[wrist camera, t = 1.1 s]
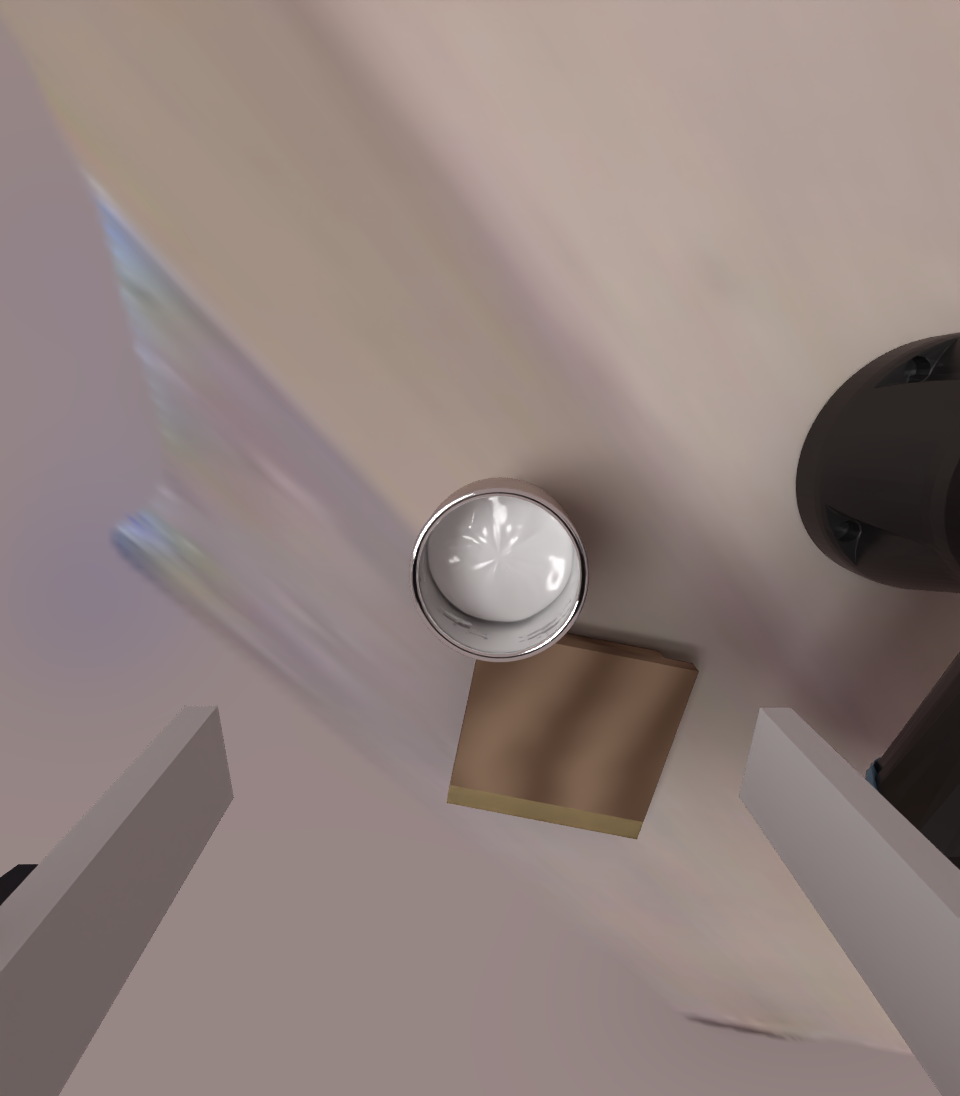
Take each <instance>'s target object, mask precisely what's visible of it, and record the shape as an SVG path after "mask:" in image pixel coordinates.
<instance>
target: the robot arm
mask: <svg viewBox="0 0 960 1096" xmlns="http://www.w3.org/2000/svg"><path fill="white" fill-rule="evenodd" d="M796 492H797V502H798V507H799V512H800V515H801V518H802V521H803V523H804V526H805V528H806V530H807V532H808V534H809V535H810V537H811V538H812V540H813V541H814V543H815V544H816V545H817V546H818V547H819V549H820V550H821V551H822V552H823V553H824V554H826V555H827V556H828V557H829V558H830V559H832V560H833V561H834V562H836V563H838V564H839V565H841V566H843V567H845V568H847V569H849V570H851V571H853V572H855V573H857V574H860V575H862V576H864V577H866V578H868V579H871V580H873V581H876V582H879V583H882V584H885V585H889V586H894V587H898V588H904V589H913V590H926V591H940V592H954V593H960V333H954V334H948V335H942V336H936V337H930V338H926V339H922V340H918V341H915V342H911V343H908V344H906V345H903V346H900V347H898V348H896V349H894V350H892V351H889V352H888V353H886V354H884V355H882V356H880V357H878V358H877V359H875V360H873V361H872V362H870V363H869V364H867V365H866V366H865V367H863V368H862V369H860V370H859V371H858V372H857V373H855V374H854V375H853V376H852V377H851V378H850V379H849V380H847V381H846V382H845V383H844V384H843V385H842V386H841V387H840V388H839V389H838V390H837V391H836V393H835V394H834V395H833V396H832V397H831V398H830V400H829V401H828V402H827V404H826V405H825V406H824V408H823V409H822V410H821V412H820V413H819V415H818V417H817V418H816V420H815V422H814V423H813V425H812V427H811V429H810V431H809V433H808V436H807V438H806V440H805V443H804V446H803V449H802V452H801V456H800V459H799V464H798V470H797V480H796ZM739 797H740V799H741V800H742V802H743V803H744V805H745V806H746V808H747V809H748V811H749V812H750V813H751V815H752V816H753V818H754V819H755V821H756V822H757V824H758V825H759V827H760V828H761V830H762V831H763V833H764V834H765V836H766V837H767V838H768V840H769V841H770V843H771V844H772V846H773V847H774V849H775V850H776V852H777V853H778V855H779V856H780V858H781V859H782V861H783V862H784V864H785V865H786V866H787V868H788V869H789V871H790V872H791V874H792V875H793V877H794V878H795V880H796V881H797V883H798V884H799V886H800V887H801V889H802V890H803V892H804V893H805V894H806V896H807V897H808V899H809V900H810V902H811V903H812V905H813V906H814V908H815V909H816V911H817V912H818V914H819V915H820V917H821V918H822V920H823V921H824V922H825V924H826V925H827V927H828V928H829V930H830V931H831V933H832V934H833V936H834V937H835V939H836V940H837V942H838V943H839V945H840V946H841V947H842V949H843V950H844V952H845V953H846V955H847V956H848V958H849V959H850V961H851V962H852V964H853V965H854V967H855V968H856V970H857V971H858V973H859V974H860V975H861V977H862V978H863V980H864V981H865V983H866V984H867V986H868V987H869V989H870V990H871V992H872V993H873V995H874V996H875V998H876V999H877V1001H878V1002H879V1003H880V1005H881V1006H882V1008H883V1009H884V1011H885V1012H886V1014H887V1015H888V1017H889V1018H890V1020H891V1021H892V1023H893V1024H894V1026H895V1027H896V1029H897V1030H898V1031H899V1033H900V1034H901V1036H902V1037H903V1039H904V1040H905V1042H906V1043H907V1045H908V1046H909V1048H910V1049H911V1051H912V1052H913V1054H914V1055H915V1056H916V1058H917V1059H918V1061H919V1062H920V1064H921V1065H922V1067H923V1068H924V1070H925V1071H926V1072H927V1074H928V1076H929V1077H930V1078H931V1080H932V1082H933V1083H934V1084H935V1086H936V1087H937V1089H938V1090H939V1092H940V1093H941V1095H942V1096H960V652H959V654H958V655H957V656H956V658H955V659H954V660H953V662H952V663H951V664H950V666H949V667H948V668H947V670H946V671H945V672H944V674H943V675H942V677H941V678H940V679H939V681H938V682H937V683H936V685H935V686H934V687H933V689H932V690H931V691H930V693H929V694H928V695H927V697H926V698H925V699H924V701H923V702H922V703H921V705H920V706H919V708H918V709H917V710H916V712H915V713H914V714H913V716H912V717H911V718H910V720H909V721H908V722H907V724H906V725H905V726H904V728H903V729H902V730H901V732H900V733H899V735H898V736H897V737H896V739H895V740H894V741H893V743H892V744H891V745H890V747H889V748H888V749H887V751H886V752H885V753H884V755H883V756H882V757H880V758H878V759H876V760H875V761H874V762H873V763H872V764H871V766H870V768H869V769H868V770H867V771H866V779H864V778H863V777H862V776H861V775H860V774H859V773H858V772H857V771H856V770H855V769H854V768H853V767H852V766H851V765H850V764H849V763H848V762H847V761H846V760H845V759H844V758H842V757H841V756H840V755H839V754H838V753H837V752H836V751H835V750H834V749H833V748H832V747H831V746H830V745H829V744H828V743H827V742H826V741H825V740H824V739H823V738H822V737H821V736H820V735H819V734H817V733H816V732H815V731H814V730H813V729H812V728H811V727H810V726H809V725H808V724H807V723H806V722H805V721H804V720H803V719H802V718H801V717H800V716H799V715H798V714H797V713H796V712H795V711H794V710H793V709H791V708H760V710H759V714H758V718H757V722H756V727H755V731H754V735H753V739H752V743H751V748H750V752H749V756H748V760H747V765H746V769H745V773H744V777H743V782H742V786H741V790H740V794H739ZM233 798H234V797H233V791H232V785H231V779H230V774H229V768H228V763H227V756H226V751H225V745H224V739H223V734H222V728H221V723H220V716H219V711H218V706H184V707H183V708H182V709H181V711H180V712H179V713H178V714H177V715H176V716H175V717H174V718H173V719H172V720H171V721H170V722H169V724H168V725H167V726H166V727H165V728H164V729H163V730H162V731H161V732H160V733H159V734H158V735H157V737H156V738H155V739H154V740H153V741H152V742H151V743H150V744H149V745H148V746H147V747H146V749H145V750H144V751H143V752H142V753H141V754H140V755H139V756H138V757H137V758H136V759H135V760H134V762H133V763H132V764H131V765H130V766H129V767H128V768H127V769H126V770H125V771H124V773H123V774H122V775H121V776H120V777H119V778H118V779H117V780H116V781H115V782H114V783H113V784H112V785H111V786H110V788H109V789H108V790H107V791H106V792H105V793H104V794H103V795H102V796H101V797H100V798H99V800H98V801H97V802H96V803H95V804H94V805H93V806H92V807H91V808H90V809H89V810H88V811H87V812H86V814H85V815H84V816H83V817H82V818H81V819H80V820H79V821H78V822H77V823H76V824H75V826H74V827H73V828H72V829H71V830H70V831H69V832H68V833H67V834H66V835H65V836H64V837H63V839H62V840H61V841H60V842H59V843H58V844H57V845H56V846H55V847H54V848H53V849H52V851H51V852H50V853H49V854H48V855H47V856H46V857H45V858H44V859H43V860H42V861H41V862H40V864H23V865H20V864H19V865H17V866H16V867H14V868H13V869H12V870H10V871H9V872H7V873H6V874H4V875H3V876H2V877H0V1096H58V1095H59V1094H60V1092H61V1091H62V1089H63V1087H64V1085H65V1084H66V1082H67V1080H68V1079H69V1077H70V1075H71V1074H72V1072H73V1070H74V1068H75V1067H76V1065H77V1063H78V1062H79V1060H80V1058H81V1057H82V1055H83V1053H84V1051H85V1050H86V1048H87V1046H88V1044H89V1043H90V1041H91V1039H92V1038H93V1036H94V1034H95V1033H96V1031H97V1029H98V1028H99V1026H100V1024H101V1022H102V1021H103V1019H104V1017H105V1016H106V1014H107V1012H108V1011H109V1009H110V1007H111V1005H112V1004H113V1002H114V1000H115V999H116V997H117V995H118V994H119V992H120V990H121V988H122V987H123V985H124V983H125V982H126V979H127V978H128V977H129V975H130V973H131V971H132V970H133V968H134V966H135V964H136V963H137V961H138V959H139V958H140V956H141V954H142V953H143V951H144V949H145V948H146V946H147V944H148V942H149V941H150V939H151V937H152V936H153V934H154V932H155V931H156V929H157V927H158V925H159V924H160V922H161V920H162V918H163V917H164V915H165V914H166V912H167V910H168V908H169V906H170V905H171V903H172V902H173V900H174V898H175V897H176V895H177V893H178V891H179V890H180V888H181V886H182V885H183V883H184V881H185V879H186V878H187V876H188V874H189V872H190V871H191V869H192V868H193V865H194V864H195V862H196V861H197V859H198V857H199V856H200V854H201V852H202V851H203V849H204V847H205V845H206V844H207V842H208V840H209V839H210V837H211V835H212V833H213V832H214V830H215V828H216V827H217V825H218V823H219V821H220V820H221V818H222V817H223V815H224V813H225V811H226V810H227V808H228V806H229V805H230V803H231V801H232V800H233Z"/></svg>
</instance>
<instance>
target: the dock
mask: <svg viewBox="0 0 960 1096" xmlns="http://www.w3.org/2000/svg"><path fill="white" fill-rule="evenodd" d="M698 672H699V671H698V670H697V668H696V667H695V666H694V664H693V663H688V662H683V661H678V660H673V659H668V658H663V657H662V656H661V654H660V652H659V651H654V650H649V649H644V648H639V647H633V646H628V645H623V644H618V643H613V642H608V641H603V640H598V639H592V638H587V637H582V636H577V635H572V634H567V633H566V634H565V635H564V636H563V637H562V638H561V639H560V640H559V641H558V642H556V643H555V644H554V645H552V646H551V647H549V648H548V649H546V650H544V651H543V652H541V653H539V654H536V655H534V656H531V657H529V658H525V659H522V660H517V661H511V662H488V661H482V660H477V659H476V663H475V668H474V673H473V677H472V682H471V687H470V692H469V696H468V701H467V706H466V710H465V715H464V720H463V725H462V729H461V734H460V739H459V743H458V748H457V753H456V758H455V762H454V767H453V772H452V777H451V781H450V786H449V791H448V797H447V803H450V804H456V805H461V806H466V807H471V808H476V809H482V810H487V811H492V812H497V813H503V814H508V815H513V816H518V817H523V818H529V819H534V820H539V821H544V822H549V823H555V824H560V825H565V826H570V827H575V828H581V829H586V830H591V831H596V832H601V833H607V834H612V835H617V836H622V837H627V838H633V839H637V838H638V835H639V832H640V830H641V827H642V824H643V821H644V819H645V816H646V813H647V811H648V808H649V805H650V802H651V800H652V797H653V794H654V792H655V789H656V786H657V783H658V781H659V778H660V775H661V773H662V770H663V767H664V764H665V762H666V759H667V756H668V754H669V751H670V748H671V745H672V743H673V740H674V737H675V734H676V732H677V729H678V726H679V724H680V721H681V718H682V715H683V713H684V710H685V707H686V705H687V702H688V699H689V696H690V694H691V691H692V688H693V686H694V683H695V680H696V677H697V675H698Z"/></svg>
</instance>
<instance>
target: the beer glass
mask: <svg viewBox="0 0 960 1096" xmlns="http://www.w3.org/2000/svg"><path fill="white" fill-rule="evenodd" d="M409 583H410V590H411V594H412V598H413V601H414V604H415V607H416V609H417V611H418V613H419V615H420V617H421V619H422V620H423V622H424V623H425V625H426V626H427V627H428V629H429V630H430V631H431V632H432V633H433V634H434V635H435V636H436V637H437V638H438V639H439V640H440V641H441V642H443V643H444V644H445V645H447V646H448V647H450V648H451V649H453V650H455V651H456V652H458V653H460V654H463V655H465V656H468V657H470V658H474V659H477V660H482V661H488V662H511V661H517V660H522V659H525V658H529V657H531V656H534V655H536V654H539V653H541V652H543V651H544V650H546V649H548V648H549V647H551V646H552V645H554V644H555V643H556V642H558V641H559V640H560V639H561V638H562V637H563V636H564V635H565V634H566V633H567V632H568V631H569V629H570V628H571V627H572V626H573V624H574V623H575V621H576V620H577V618H578V616H579V614H580V612H581V610H582V608H583V605H584V602H585V599H586V595H587V591H588V584H589V567H588V559H587V555H586V551H585V548H584V545H583V542H582V540H581V538H580V536H579V534H578V532H577V531H576V529H575V527H574V525H573V523H572V521H571V519H570V517H569V516H568V514H567V513H566V512H565V510H564V509H563V508H562V507H561V506H560V504H559V503H558V502H557V501H556V500H555V499H554V498H553V497H552V496H550V495H549V494H548V493H547V492H545V491H544V490H542V489H540V488H539V487H537V486H535V485H533V484H530V483H528V482H525V481H522V480H518V479H513V478H502V477H499V478H487V479H482V480H478V481H475V482H472V483H470V484H468V485H465V486H463V487H462V488H460V489H458V490H457V491H455V492H454V493H452V494H451V495H450V496H449V497H448V498H447V499H445V500H444V501H443V502H442V503H441V504H440V505H439V506H438V508H437V509H436V510H435V511H434V513H433V514H432V515H431V517H430V518H429V520H428V521H427V522H426V523H425V525H424V526H423V528H422V529H421V531H420V533H419V535H418V537H417V539H416V541H415V544H414V547H413V550H412V553H411V558H410V565H409Z"/></svg>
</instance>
